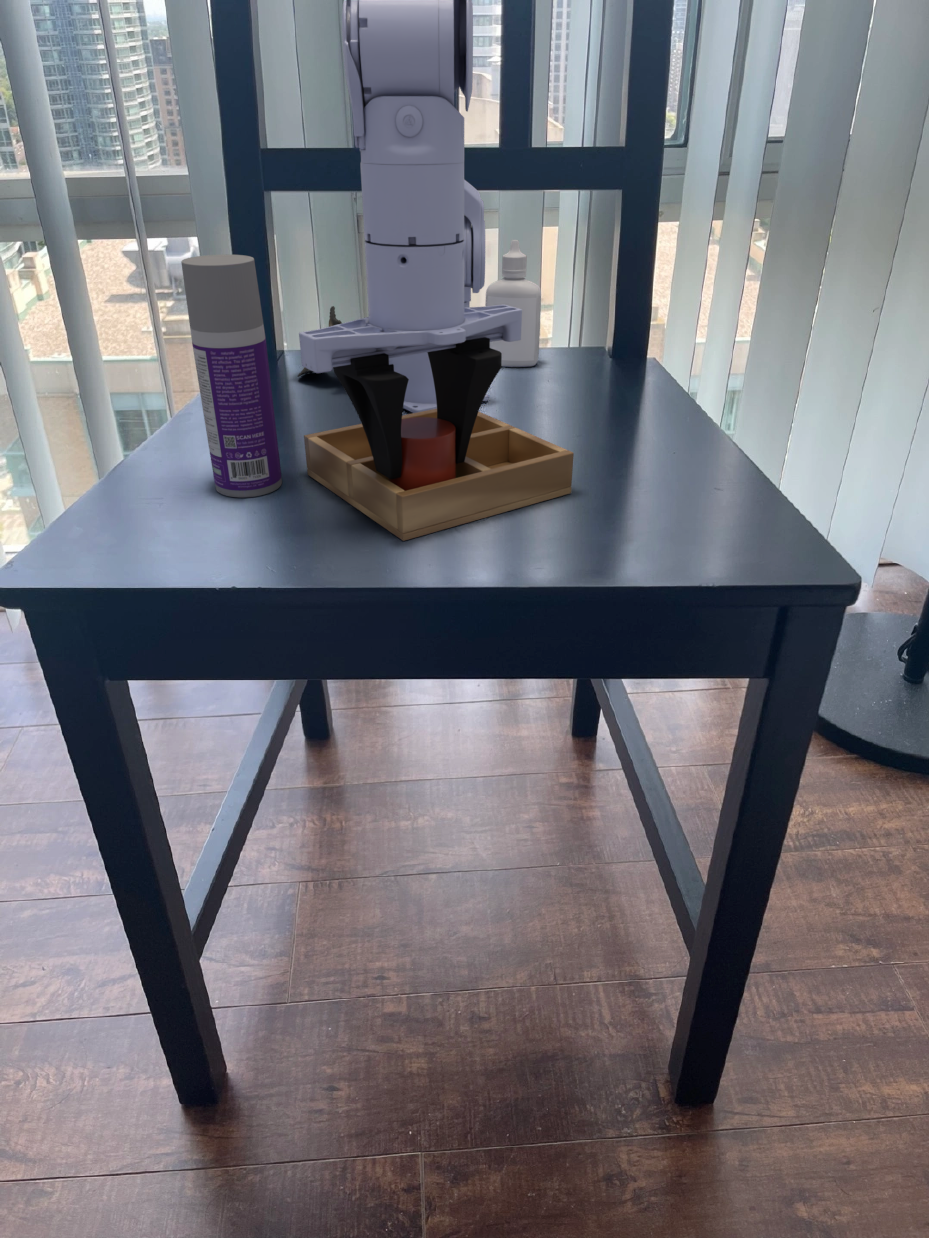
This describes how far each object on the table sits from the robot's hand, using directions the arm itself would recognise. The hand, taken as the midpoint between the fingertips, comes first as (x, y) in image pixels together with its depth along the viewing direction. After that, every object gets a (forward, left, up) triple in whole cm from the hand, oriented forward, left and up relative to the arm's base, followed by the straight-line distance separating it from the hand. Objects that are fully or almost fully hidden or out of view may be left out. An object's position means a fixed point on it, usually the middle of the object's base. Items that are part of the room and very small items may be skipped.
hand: (420, 466), depth 56 cm
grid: (-3, +3, -3) cm, 6 cm away
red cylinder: (0, 0, -1) cm, 1 cm away
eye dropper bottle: (-27, +28, -3) cm, 39 cm away
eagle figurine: (-31, +10, -3) cm, 33 cm away
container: (-11, -8, -3) cm, 14 cm away
